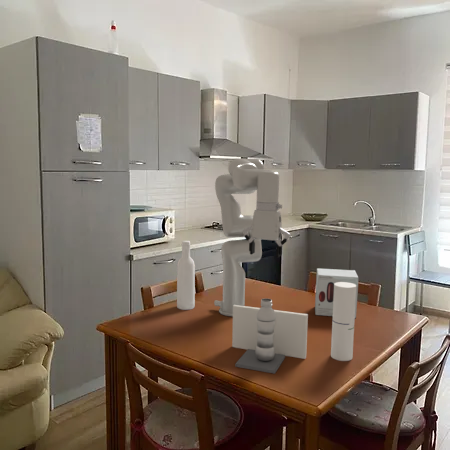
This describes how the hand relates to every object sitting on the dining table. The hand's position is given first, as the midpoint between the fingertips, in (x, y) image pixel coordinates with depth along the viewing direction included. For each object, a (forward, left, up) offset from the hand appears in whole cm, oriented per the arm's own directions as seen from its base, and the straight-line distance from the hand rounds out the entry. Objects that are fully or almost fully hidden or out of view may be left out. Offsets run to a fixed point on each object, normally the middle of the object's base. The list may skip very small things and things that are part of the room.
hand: (265, 255), depth 167 cm
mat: (+4, -16, -33) cm, 36 cm away
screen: (+4, -7, -33) cm, 33 cm away
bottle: (-44, +27, -33) cm, 61 cm away
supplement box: (+19, +47, -33) cm, 60 cm away
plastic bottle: (+5, -15, -32) cm, 36 cm away
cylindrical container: (+28, -1, -33) cm, 43 cm away
